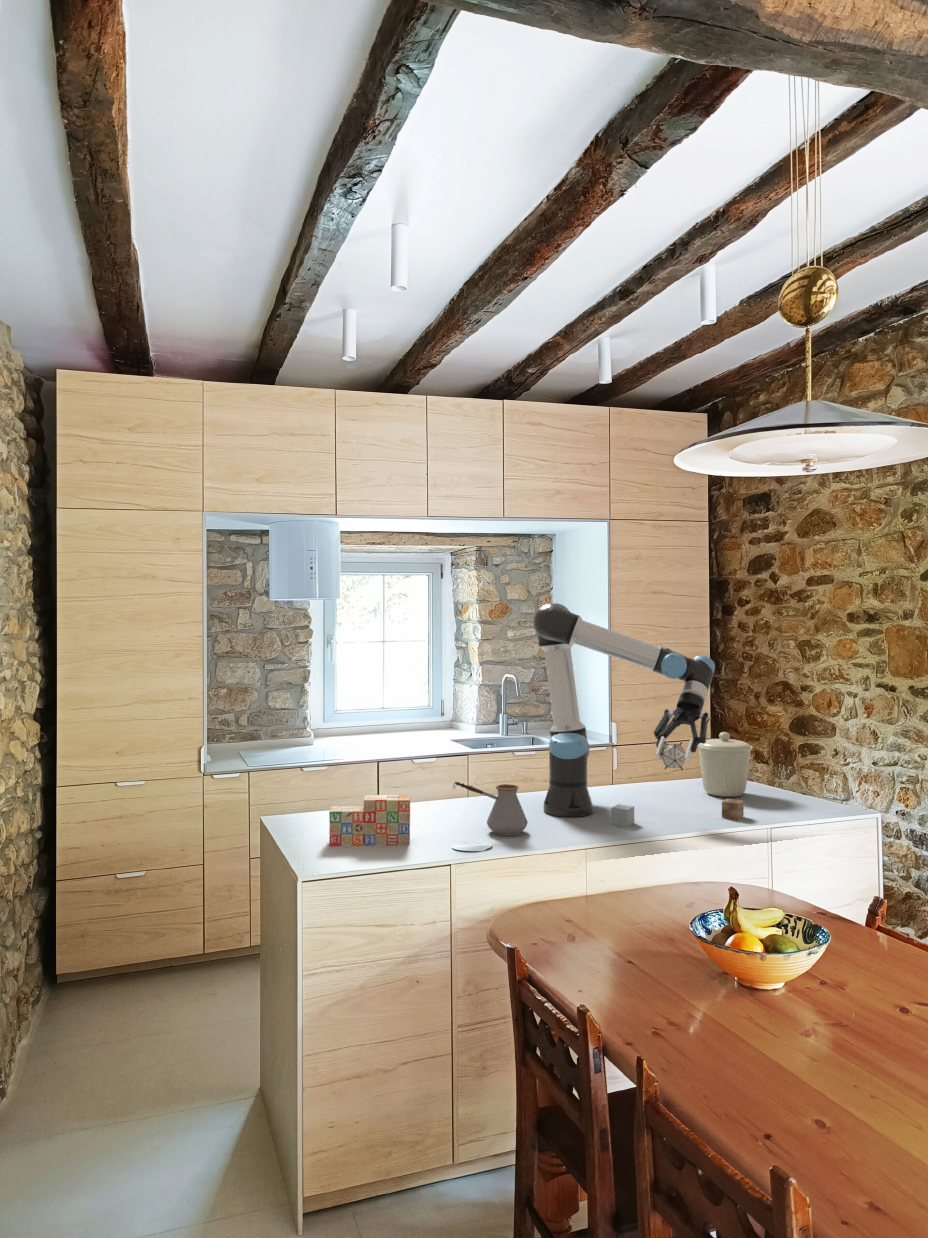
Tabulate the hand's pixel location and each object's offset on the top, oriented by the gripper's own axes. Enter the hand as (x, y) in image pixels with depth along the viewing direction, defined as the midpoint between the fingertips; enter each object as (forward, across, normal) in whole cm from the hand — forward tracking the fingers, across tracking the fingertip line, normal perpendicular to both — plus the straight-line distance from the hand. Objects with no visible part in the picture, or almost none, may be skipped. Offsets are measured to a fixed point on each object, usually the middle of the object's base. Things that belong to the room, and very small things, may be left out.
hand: (672, 758), depth 248 cm
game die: (+1, +1, -5) cm, 5 cm away
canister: (-19, -1, -46) cm, 50 cm away
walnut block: (+2, -13, -24) cm, 28 cm away
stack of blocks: (+62, +58, +34) cm, 91 cm away
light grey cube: (+21, +11, -6) cm, 24 cm away
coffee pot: (+43, +37, +16) cm, 59 cm away
